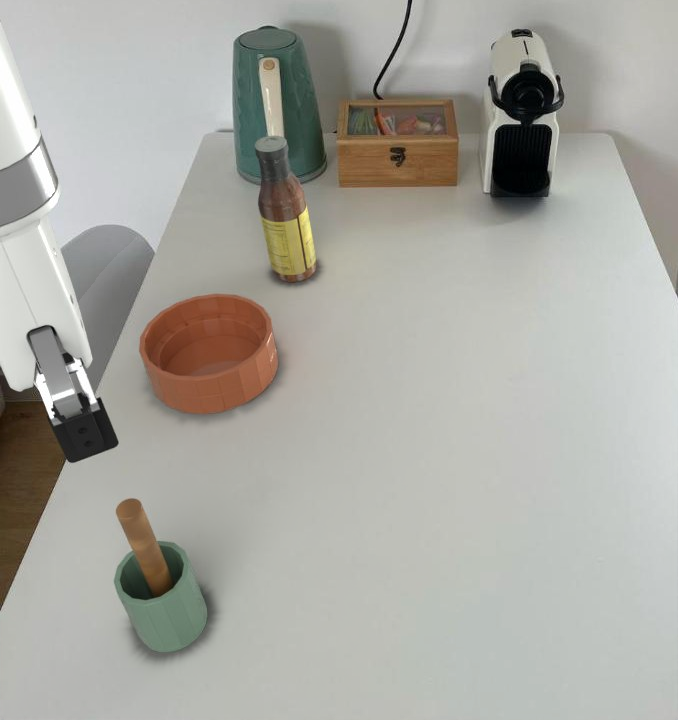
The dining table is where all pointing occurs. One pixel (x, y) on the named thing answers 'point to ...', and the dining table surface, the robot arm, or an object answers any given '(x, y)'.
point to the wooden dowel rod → (145, 546)
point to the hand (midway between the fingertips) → (78, 404)
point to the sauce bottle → (284, 213)
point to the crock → (163, 602)
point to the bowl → (209, 353)
